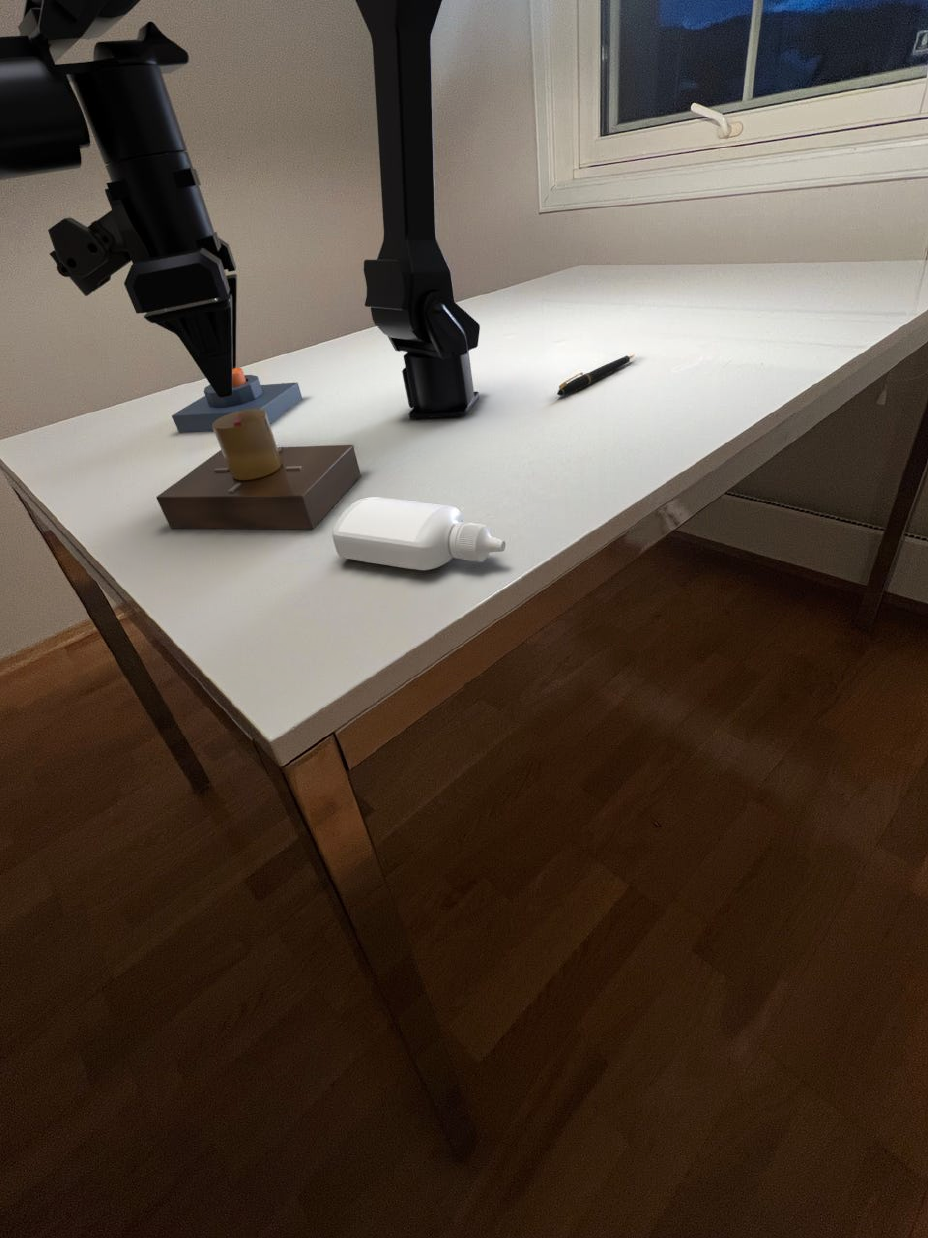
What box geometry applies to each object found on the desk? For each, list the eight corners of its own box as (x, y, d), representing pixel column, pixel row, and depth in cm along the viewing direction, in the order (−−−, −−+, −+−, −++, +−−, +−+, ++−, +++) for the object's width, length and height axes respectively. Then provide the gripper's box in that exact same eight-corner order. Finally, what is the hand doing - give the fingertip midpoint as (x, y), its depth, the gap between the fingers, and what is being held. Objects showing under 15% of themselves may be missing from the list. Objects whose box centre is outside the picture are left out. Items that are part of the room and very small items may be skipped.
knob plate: (361, 475, 58) (352, 442, 56) (313, 529, 50) (301, 493, 49) (232, 477, 62) (220, 447, 60) (170, 528, 55) (154, 495, 53)
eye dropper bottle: (330, 494, 43) (487, 511, 38) (378, 497, 48) (523, 512, 43) (327, 558, 44) (480, 583, 39) (374, 554, 49) (516, 576, 44)
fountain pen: (630, 359, 74) (631, 346, 74) (639, 360, 74) (639, 347, 73) (552, 399, 67) (552, 385, 66) (561, 401, 67) (560, 386, 66)
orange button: (252, 380, 77) (247, 366, 76) (236, 390, 75) (231, 375, 74) (227, 382, 78) (222, 368, 77) (211, 392, 76) (205, 377, 75)
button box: (303, 399, 81) (293, 367, 78) (263, 429, 73) (251, 394, 71) (223, 404, 84) (212, 373, 82) (178, 433, 77) (164, 400, 74)
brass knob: (232, 466, 56) (212, 412, 53) (281, 454, 57) (264, 401, 54) (230, 485, 52) (208, 428, 50) (283, 472, 53) (264, 416, 50)
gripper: (62, 179, 51) (148, 376, 60) (-19, 178, 36) (111, 438, 46) (200, 155, 53) (263, 350, 62) (177, 144, 38) (264, 403, 47)
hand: (228, 381), depth 54 cm, fingers open, 9 cm apart
